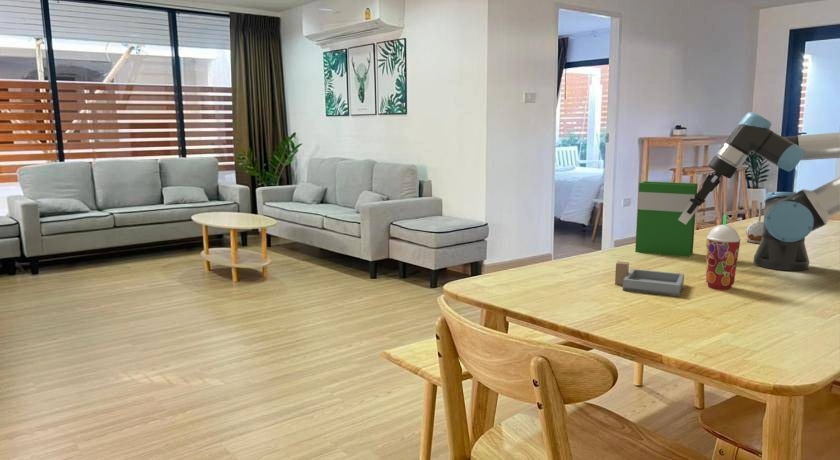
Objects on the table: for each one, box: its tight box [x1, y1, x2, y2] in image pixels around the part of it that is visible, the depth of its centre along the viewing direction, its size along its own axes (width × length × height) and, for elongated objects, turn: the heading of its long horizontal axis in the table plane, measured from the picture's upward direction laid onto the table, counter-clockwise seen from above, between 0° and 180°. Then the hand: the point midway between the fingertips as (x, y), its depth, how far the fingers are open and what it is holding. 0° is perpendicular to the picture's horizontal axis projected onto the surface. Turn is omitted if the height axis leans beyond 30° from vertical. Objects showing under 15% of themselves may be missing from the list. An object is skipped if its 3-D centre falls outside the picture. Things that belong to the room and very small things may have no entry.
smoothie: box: [705, 214, 742, 291], centre depth 173 cm, size 8×8×20 cm
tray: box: [614, 261, 685, 298], centre depth 175 cm, size 17×14×6 cm
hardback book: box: [634, 180, 699, 258], centre depth 219 cm, size 18×7×24 cm, turn 61°
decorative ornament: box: [745, 202, 763, 244], centre depth 238 cm, size 8×8×15 cm
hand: (683, 219), depth 198 cm, fingers open, 13 cm apart
